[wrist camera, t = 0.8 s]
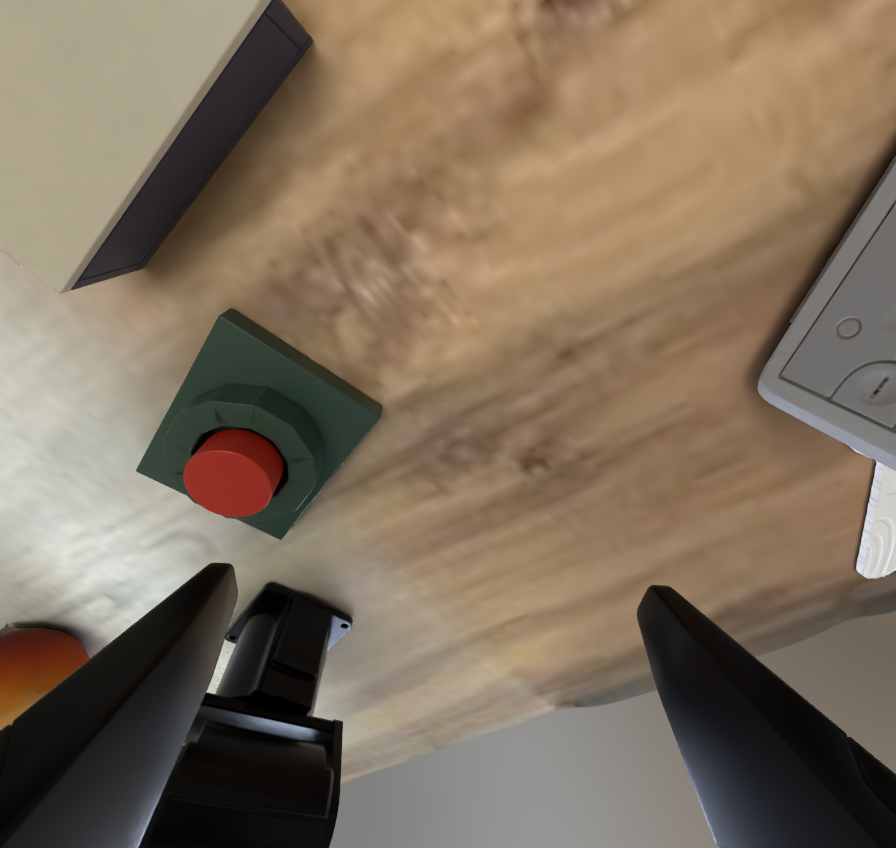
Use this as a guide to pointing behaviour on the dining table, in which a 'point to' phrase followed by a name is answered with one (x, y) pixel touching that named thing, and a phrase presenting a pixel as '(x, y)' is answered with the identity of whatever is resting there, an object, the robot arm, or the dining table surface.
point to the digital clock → (847, 338)
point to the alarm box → (262, 416)
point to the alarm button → (234, 473)
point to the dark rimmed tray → (202, 143)
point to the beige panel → (97, 113)
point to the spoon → (879, 526)
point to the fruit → (33, 666)
